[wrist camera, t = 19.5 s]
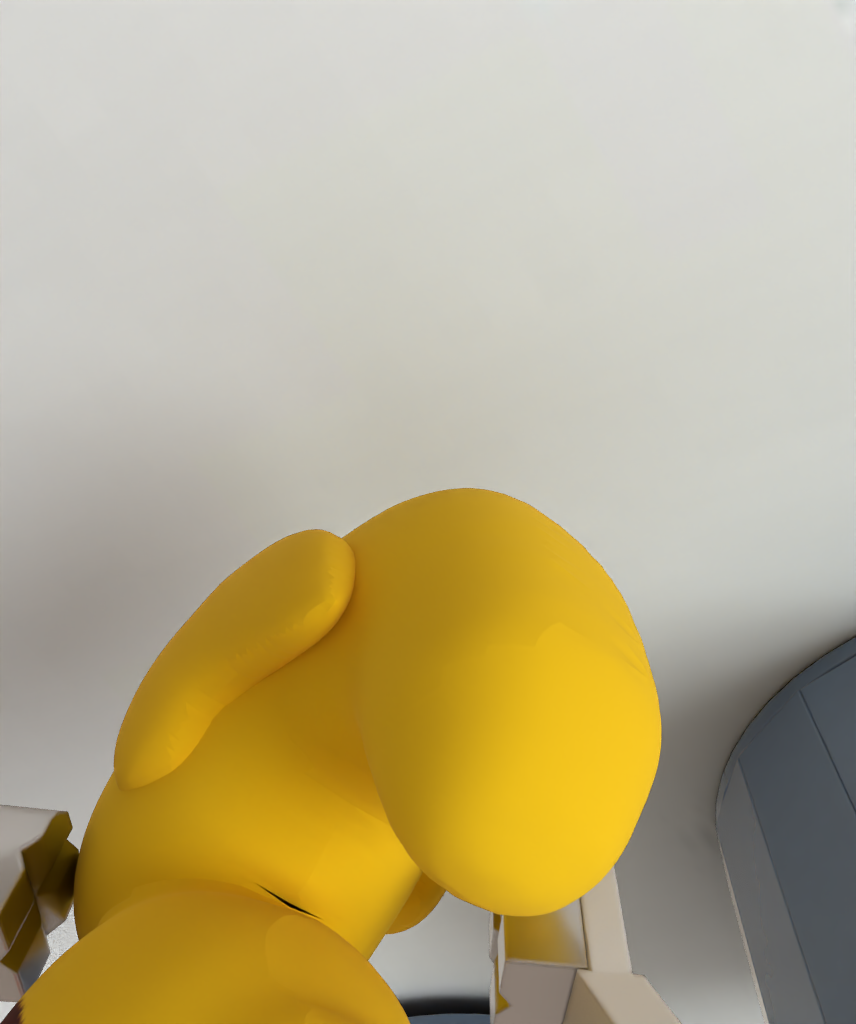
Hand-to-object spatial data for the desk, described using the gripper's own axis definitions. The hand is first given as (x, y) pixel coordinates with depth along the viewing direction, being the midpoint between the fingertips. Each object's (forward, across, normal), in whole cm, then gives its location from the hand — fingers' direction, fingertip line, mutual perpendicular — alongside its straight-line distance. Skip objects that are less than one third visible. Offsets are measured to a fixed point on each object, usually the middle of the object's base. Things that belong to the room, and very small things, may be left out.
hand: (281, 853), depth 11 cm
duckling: (+4, 0, -1) cm, 4 cm away
